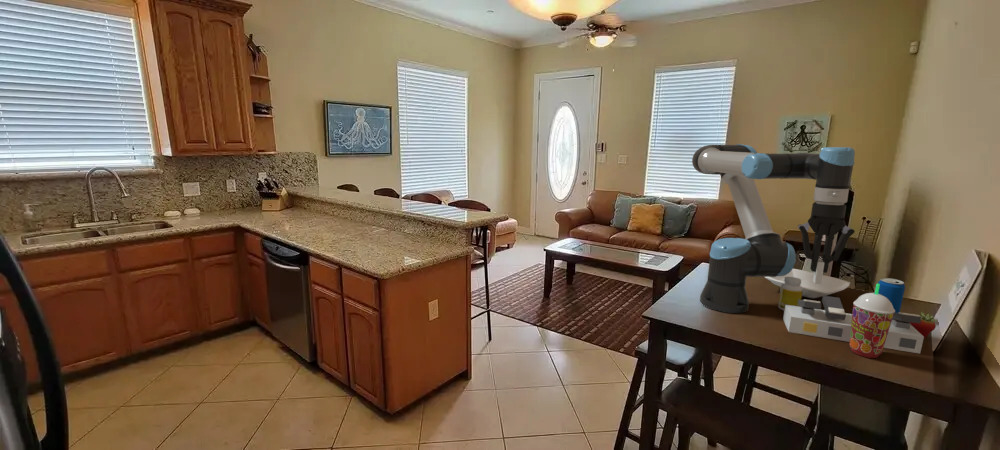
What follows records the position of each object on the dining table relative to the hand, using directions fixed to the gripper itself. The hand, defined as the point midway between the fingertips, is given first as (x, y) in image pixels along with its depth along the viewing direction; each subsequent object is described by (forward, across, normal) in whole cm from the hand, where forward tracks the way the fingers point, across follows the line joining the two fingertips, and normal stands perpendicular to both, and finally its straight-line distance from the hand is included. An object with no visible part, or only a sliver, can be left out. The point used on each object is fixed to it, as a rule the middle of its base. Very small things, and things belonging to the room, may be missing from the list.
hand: (816, 282), depth 121 cm
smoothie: (+17, +11, -7) cm, 21 cm away
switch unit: (+16, +10, +4) cm, 19 cm away
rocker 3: (+8, +22, +4) cm, 24 cm away
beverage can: (+16, +26, +27) cm, 41 cm away
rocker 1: (+8, 0, +4) cm, 9 cm away
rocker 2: (+8, +6, +4) cm, 11 cm away
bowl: (+16, +6, +39) cm, 42 cm away
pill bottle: (+16, -2, +19) cm, 25 cm away
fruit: (+17, +29, +11) cm, 35 cm away
